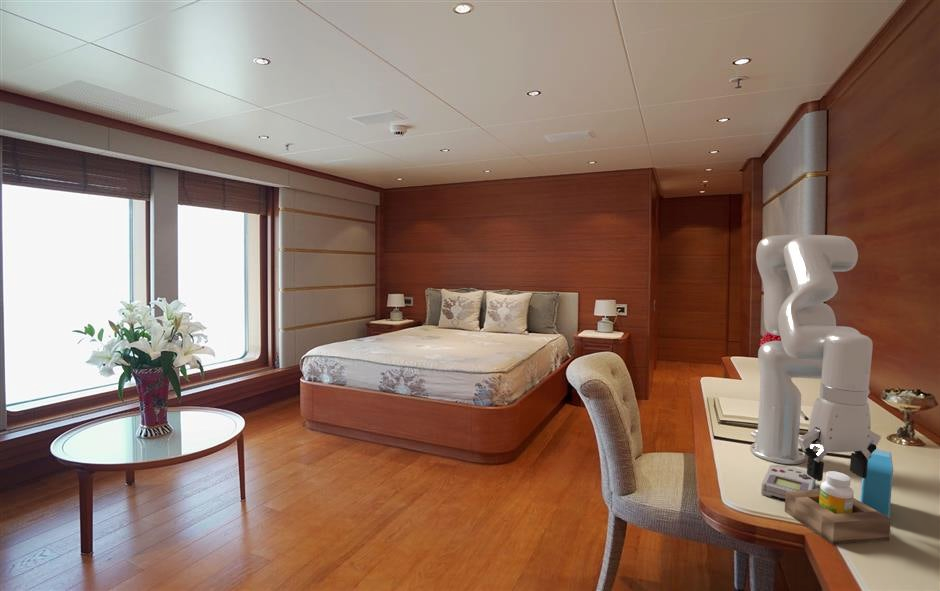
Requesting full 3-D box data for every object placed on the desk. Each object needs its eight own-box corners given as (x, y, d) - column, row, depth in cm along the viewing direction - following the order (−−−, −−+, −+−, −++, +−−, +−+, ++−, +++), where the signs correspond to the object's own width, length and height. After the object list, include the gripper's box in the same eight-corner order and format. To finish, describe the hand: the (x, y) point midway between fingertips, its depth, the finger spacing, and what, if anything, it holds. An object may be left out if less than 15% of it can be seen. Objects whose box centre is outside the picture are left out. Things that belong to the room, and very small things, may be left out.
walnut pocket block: (784, 511, 103) (785, 491, 103) (835, 508, 105) (836, 488, 104) (832, 544, 91) (834, 522, 91) (889, 540, 93) (890, 518, 92)
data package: (860, 495, 110) (864, 444, 109) (886, 502, 108) (890, 450, 106) (860, 517, 101) (864, 462, 100) (888, 525, 98) (893, 468, 97)
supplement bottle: (811, 516, 100) (815, 471, 99) (829, 511, 102) (833, 467, 100) (838, 531, 95) (842, 484, 94) (857, 525, 96) (861, 479, 95)
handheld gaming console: (816, 471, 116) (810, 495, 104) (815, 485, 116) (809, 510, 104) (771, 460, 122) (761, 482, 110) (770, 473, 122) (760, 496, 110)
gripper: (865, 387, 101) (857, 465, 102) (789, 390, 99) (783, 470, 101) (900, 399, 93) (892, 483, 95) (819, 402, 91) (812, 488, 93)
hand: (836, 476), depth 98 cm, fingers open, 9 cm apart
